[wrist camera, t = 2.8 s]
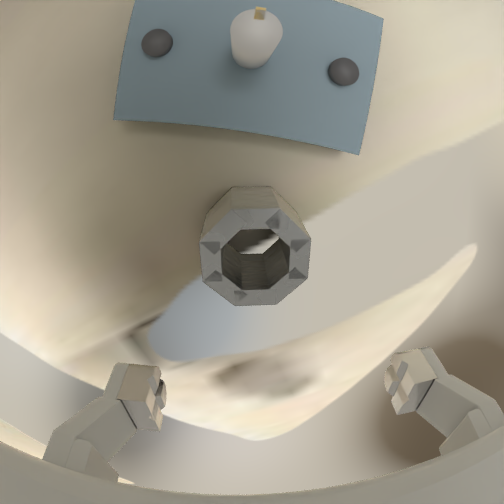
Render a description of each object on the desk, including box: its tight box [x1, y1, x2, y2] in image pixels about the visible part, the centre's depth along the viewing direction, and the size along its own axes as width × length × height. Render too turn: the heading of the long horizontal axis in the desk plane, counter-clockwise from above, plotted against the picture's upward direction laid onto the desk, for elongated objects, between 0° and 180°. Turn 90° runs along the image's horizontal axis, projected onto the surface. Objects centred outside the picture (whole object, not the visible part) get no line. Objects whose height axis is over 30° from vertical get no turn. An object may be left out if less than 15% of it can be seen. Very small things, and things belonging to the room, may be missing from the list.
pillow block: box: [113, 0, 383, 155], centre depth 12 cm, size 14×9×7 cm, turn 80°
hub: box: [199, 186, 311, 306], centre depth 18 cm, size 6×6×4 cm
